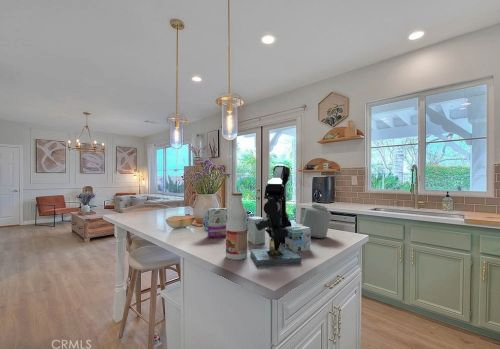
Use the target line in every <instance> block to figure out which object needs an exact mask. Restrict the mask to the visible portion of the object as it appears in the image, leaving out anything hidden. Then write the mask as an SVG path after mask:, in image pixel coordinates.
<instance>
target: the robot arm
mask: <svg viewBox="0 0 500 349" xmlns="http://www.w3.org/2000/svg"><path fill="white" fill-rule="evenodd" d="M290 177H291V169H290V167H288V166H286V165H285V164H275V165H274V167H273V170H272V178H271V179H270V180H268V181H267V184H266V185H265V187H264V188H265V189H264V196H263V199H264V200H267V201H266V202H265V203H264V205H263V212H264V213H265V217H262V218H263V219H260V220H258V221H255V225H256V228H257V229H258V231H260V230H262V229H264V228H265V233H267V234H268V237H270V236H272V237H273V241H274V248H275V250H278V248H279V246H281V244H285V237H288V236H289V231H288V230H287V229H285V227H292V226H293V225H292V222H291V220H290V215H289V213H288V212H287V183H288V182H289V180H290Z"/></svg>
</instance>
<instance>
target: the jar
mask: <svg viewBox="0 0 500 349" xmlns="http://www.w3.org/2000/svg"><path fill="white" fill-rule="evenodd" d="M319 195H320V196H322V194H319ZM323 200H324V199H323ZM331 218H332V213H331V212H330V211H329V210H328V207H327V206H325V205H321V204H316V203H311V206H309V205H308V206H307V207H306V208H305V211H304V215H303V219H302V223H301V225H303V226H306V227H309V228H310V237H312V238H315V239H316V238H317V239H323V238H325V237H327V234H328V231H329V226H330V222H331Z"/></svg>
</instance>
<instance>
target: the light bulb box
mask: <svg viewBox="0 0 500 349" xmlns="http://www.w3.org/2000/svg"><path fill="white" fill-rule="evenodd" d="M285 229H287V230H288V231H289V236H288V237H285V243H284V245H285V246H284V248H285V247H289V248H290V249H291V250H293V251H294V252H295V253H301V252H307V251H310V250H311V236H310V228H309V227H306V226H303V225H302V224H301V225H294V226H293V225H292V227H285Z"/></svg>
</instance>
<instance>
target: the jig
mask: <svg viewBox="0 0 500 349" xmlns="http://www.w3.org/2000/svg"><path fill="white" fill-rule="evenodd" d="M250 256H251V258H252V260H253V262H254V263H255V265H256V266H257V267H258V268H259V267H271V266H272V267H273V266H287V265H288V266H289V265H300V264H302V257H301V256H300V255H299V254H298V253H297V252H294V251H293V250H291V249H290V248H289V247H285V246H284V247H280V254H279V255H276V256H274V255H270V254H269V248H253V249H252V248H251V249H250Z"/></svg>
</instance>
